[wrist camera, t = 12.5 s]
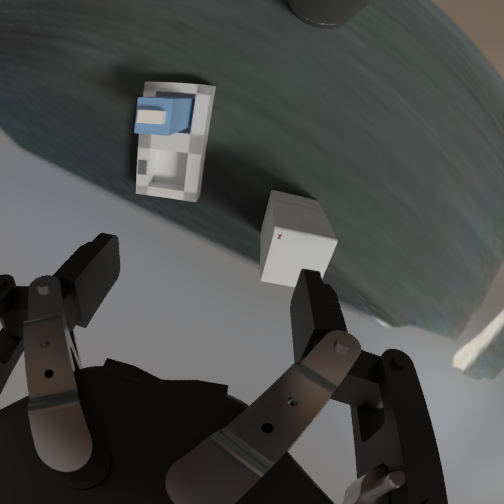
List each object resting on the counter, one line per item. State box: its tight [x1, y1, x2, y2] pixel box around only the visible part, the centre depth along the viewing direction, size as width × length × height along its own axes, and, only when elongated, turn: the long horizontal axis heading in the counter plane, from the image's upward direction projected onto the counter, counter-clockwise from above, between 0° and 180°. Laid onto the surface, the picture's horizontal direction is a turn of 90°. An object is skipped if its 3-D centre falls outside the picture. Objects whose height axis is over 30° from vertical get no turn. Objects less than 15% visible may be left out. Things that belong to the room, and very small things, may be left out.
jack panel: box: [136, 82, 216, 202], centre depth 36 cm, size 16×9×3 cm, turn 170°
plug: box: [134, 96, 195, 136], centre depth 31 cm, size 4×4×11 cm
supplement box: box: [260, 190, 338, 287], centre depth 38 cm, size 7×7×13 cm
